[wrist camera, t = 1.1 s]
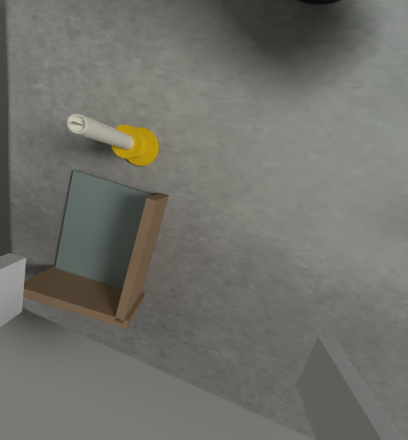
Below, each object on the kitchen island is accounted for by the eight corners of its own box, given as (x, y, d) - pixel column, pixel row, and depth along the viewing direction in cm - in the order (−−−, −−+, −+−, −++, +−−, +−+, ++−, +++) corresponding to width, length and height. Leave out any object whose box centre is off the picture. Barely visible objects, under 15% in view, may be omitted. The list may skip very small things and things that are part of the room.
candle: (153, 124, 31) (94, 75, 16) (162, 161, 32) (114, 150, 17) (118, 132, 32) (27, 92, 16) (128, 169, 33) (50, 164, 17)
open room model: (72, 164, 33) (34, 162, 26) (172, 196, 33) (161, 202, 26) (52, 271, 36) (15, 294, 30) (142, 299, 37) (126, 328, 30)
